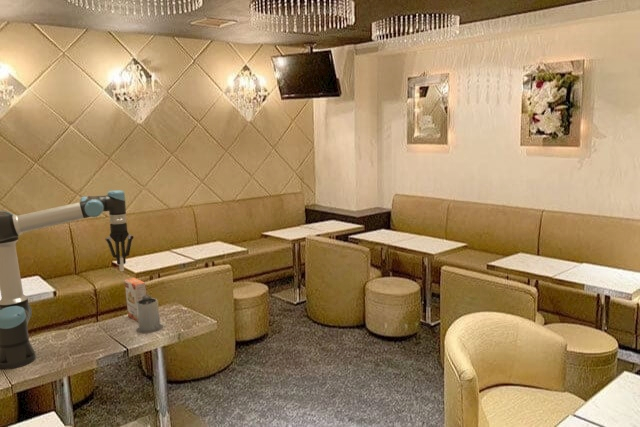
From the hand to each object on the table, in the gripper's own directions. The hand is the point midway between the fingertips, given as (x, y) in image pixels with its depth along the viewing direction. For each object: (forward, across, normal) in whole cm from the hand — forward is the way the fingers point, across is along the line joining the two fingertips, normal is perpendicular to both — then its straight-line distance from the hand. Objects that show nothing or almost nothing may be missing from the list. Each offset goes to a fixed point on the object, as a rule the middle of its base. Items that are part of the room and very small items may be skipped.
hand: (121, 270), depth 257 cm
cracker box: (+31, +10, +15) cm, 36 cm away
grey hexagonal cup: (+30, +10, -5) cm, 32 cm away
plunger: (+25, +10, -5) cm, 28 cm away
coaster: (+31, +10, -5) cm, 33 cm away
